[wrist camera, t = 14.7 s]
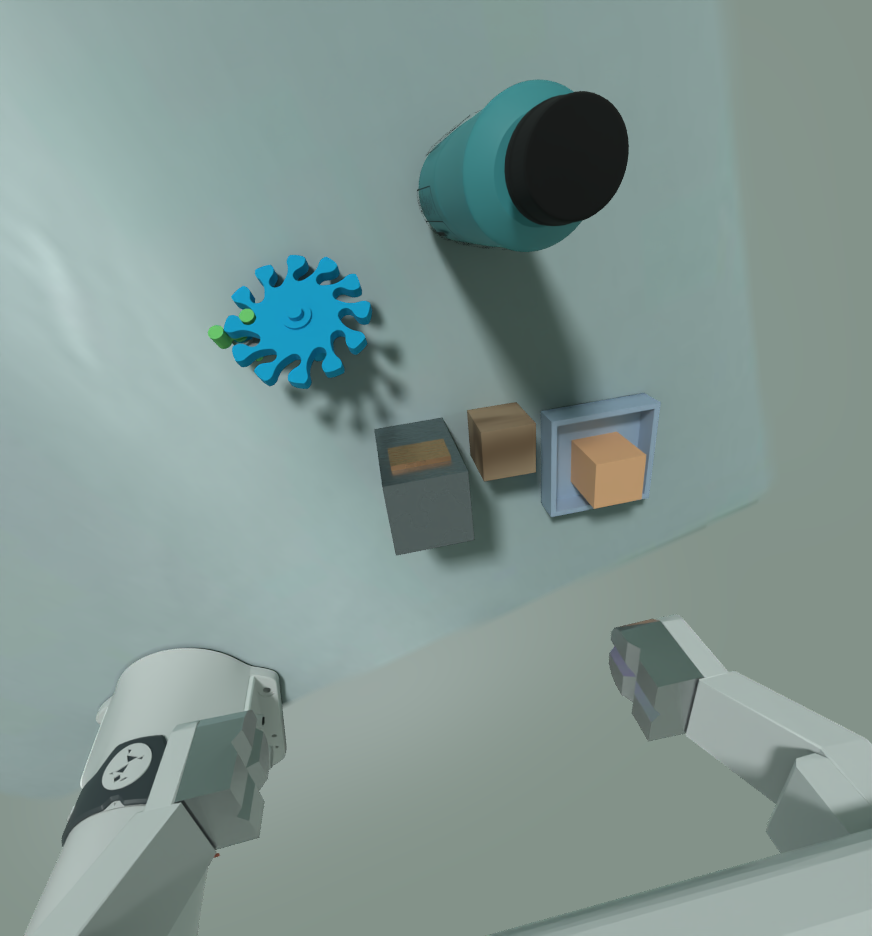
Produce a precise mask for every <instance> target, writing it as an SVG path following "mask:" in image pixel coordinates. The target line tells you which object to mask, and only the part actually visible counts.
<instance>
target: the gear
mask: <svg viewBox="0 0 872 936" xmlns="http://www.w3.org/2000/svg"><path fill="white" fill-rule="evenodd" d="M287 265H288V273H287V276H286V278H285V280H284V282H283V283H282V285H281V286H279V287H274V286H275V284H276V282H277V280H278V276H277V274H276V272H275V270H274V269H273V267H272V266H271V265H266V266H263V267H260V268H258V269H256V270H255V275H256V277H257V278H258V280H259V281H260V283H261V284H262V285H263V286H264V289H265V297H264V300H263V301H262V302H260V303H255V298H254V296H253V295H252V293H251V292H250V290H249V289H248V288H247V287H245V286H242V287H241V288H239V289H238V290H237V291H236V292H235V293H234V294H233V295H232V296H231V297H232V299H233V301H234V302H235V303H236V305H237V306H238V307H239V308H240V309H244V310H242V311H241V312H240V314H239V317H237V316H235V315H230V316H228V318H227V320H226V322H225V325H224V329H223V328H222V327H221V326H219V325H215V326H212V327H211V328H210V329H209V331H208V335H209V337H210V338H211V339H212V340H213V341H214V342H215V343H216V344H217V345H218V346H219V347H220V348H222V349H226V348H228V347H230V346H231V344H232V343H233V345H234V346H233V348H232V352H233V356H234V358H235V361H236V362H237V363H238V364H239V365H240V366H241V367H247V366H249V365H251V364H252V363H253V362H254V361H255V360H256V361H261V360H262V359H263V356H268V355H277V357H276V359H275V360H274V361H273V362H270V363H262V364H260V365H258V366H257V367H256V368H255V370H254V372H255V373H256V375H257V376H258V377H259V378H260V379H261V380H262V381H263V382H264V383H265V384H267V385H268V386H272V385H274V384H275V383H276V382H277V380H278V377H279V375H280V373H281V371H282V370H283V369H284V368H285V367H286V366H287V365H289V364H290V363H292V362H293V361H295V360H301V363H300V365H299V366H298V367H296V368H294V369H293V370H292V371H291V372H290V373H289V375H288V381H289V382H290V383H291V385H292V386H294V387H296V388H302V389H308V388H309V387H310V386H311V383H312V382H311V377H310V369H311V365H312V363H313V361H314V360H315V361H322V360H323V363H322V369H323V371H324V372H325V374H326V376H327V377H328V378H332V377H336V376H339V375H341V374H343V373H344V371H345V369H344V366H343V364H342V362H341V360H340V359H339V358H338V357H337V356H336V355H335V354H334V347H333V343H334V340H335V339H336V338H338V337H341V336H342V337H345V338H346V344H347V346H348V348H349V350H350V352H351V353H352V354H355V355H357V354H358V353H360V352H361V351H362V350H363V349H364V348H365V347H366V345H367V341H366V338H365V336H364V334H363V333H362V332H359V331H354V330H351V329H349V328H347V327H346V326H345V325H344V324H343V323H342V322H341V319H342V318H343V317H344V316H346V315H352V316H353V317H354V318H355V319H356V320H357V322H358V323H360V324H363V325H366V324H369V322H370V320H371V316H372V308H371V305H370V303H369V302H367V301H360V302H356V303H345V302H341V301H339V300H336V298H337V297H338V296H339V295H347V296H350V297H359V296H360V295H362V289H361V286H360V283H359V280H358V277H357V276H356V274H349V275H347V276H346V277H345V278H344V279H343V280H341V281H339V282H337V283H335V284H331V285H320V284H321V283H322V282H323V281H326V280H333V279H336V278H337V277H338V276H339V274H340V272H339V269H338V266H337V264H336V263H335V262H334V261H333V260H331V259H330V258H328V257H324V258H322V259H321V260H320V262H319V265H318V267H317V269H316V270H315V272H314V273H313V274H312V275H310V276H309V277H307V278H306V279H304V280H302V281H297V280H298V279H299V278H300V277H301V276H303V275H305V274H306V273H307V272H308V269H309V266H308V263H307V261H306V259H305V257H303V256H298V255H290V256H289V257H288V259H287ZM239 318H240V319H239ZM325 356H326V357H325ZM324 358H325V359H324Z"/></svg>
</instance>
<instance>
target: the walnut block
mask: <svg viewBox="0 0 872 936" xmlns="http://www.w3.org/2000/svg"><path fill="white" fill-rule="evenodd" d="M467 415H468V429H469V442H470V455H471V457H472V459H473V461H474V463H475V465H476V467H477V469H478V471H479V473H480V474H481V476H482V478H483V480H484V481H489V480H495V479H501V478H506V477H512V476H517V475H523V474H529V473H534V472H536V423H535V422H534V421H533V420H532V419H531V418H530V417H529V415H528V414H527V413H526V412H525V411H524V410H523V409H522V408H521V407H520V406H519V405H518V403H517V402H515V403H509V404H502V405H496V406H490V407H484V408H478V409H472V410H467Z"/></svg>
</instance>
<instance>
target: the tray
mask: <svg viewBox="0 0 872 936" xmlns="http://www.w3.org/2000/svg"><path fill="white" fill-rule="evenodd" d="M660 404H661V402H659V401H657V400H656V399H654V398H652V397H651V396H649V395H647V394H645V393H641V394H635V395H629V396H623V397H618V398H612V399H606V400H601V401H595V402H589V403H584V404H578V405H572V406H566V407H561V408H555V409H549V410H544V411H541V503H542V505H543V506H544V508H545V509H546V511H547V512H548V514H549V515H550V516H551V517H554V516H560V515H565V514H570V513H575V512H580V511H585V510H590V509H594V508H593V507H592V506H591V505H590V504H589V502H588V501H587V500H586V499H585V498H584V497H583V495H582V494H581V493H580V492H579V491H578V489H577V488H576V487H575V486H574V485H573V484H572V482H571V440H575V439H580V438H586V437H591V436H596V435H601V434H607V433H612V432H618V433H619V434H621V435H622V436H623V437H624V438H626V439H627V440H628V441H630V442H631V443H632V444H633V445H635V446H636V447H637V448H638V449H640V450H641V451H642V452H643V453H645V454H646V464H645V473H644V482H643V491H642V499H646V498H649V491H650V483H651V475H652V467H653V459H654V452H655V444H656V436H657V428H658V420H659V412H660ZM640 500H641V499H640Z"/></svg>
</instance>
